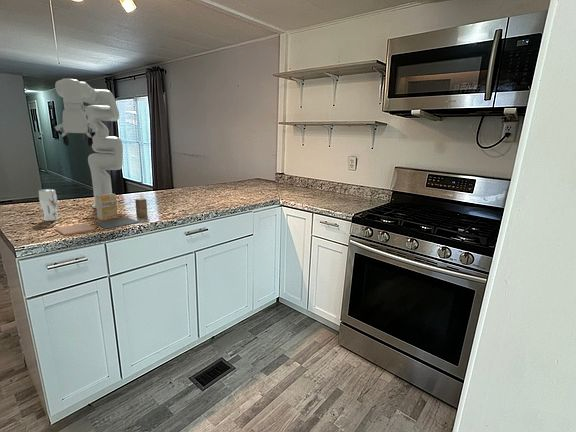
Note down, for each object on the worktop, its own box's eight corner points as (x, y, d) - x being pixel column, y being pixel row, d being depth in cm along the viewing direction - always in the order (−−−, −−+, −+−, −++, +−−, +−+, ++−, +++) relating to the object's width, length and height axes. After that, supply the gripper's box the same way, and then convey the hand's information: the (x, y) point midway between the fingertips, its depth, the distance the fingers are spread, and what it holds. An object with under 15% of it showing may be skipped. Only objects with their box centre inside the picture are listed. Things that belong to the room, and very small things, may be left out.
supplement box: (103, 221, 157) (100, 196, 154) (97, 219, 159) (94, 194, 156) (118, 218, 164) (116, 193, 161) (113, 216, 166) (110, 192, 163)
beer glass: (51, 221, 153) (46, 191, 149) (39, 220, 154) (34, 190, 150) (63, 218, 159) (59, 189, 155) (51, 217, 160) (47, 188, 157)
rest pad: (55, 229, 141) (55, 228, 141) (85, 224, 150) (85, 223, 150) (64, 235, 134) (64, 234, 133) (95, 230, 143) (95, 228, 143)
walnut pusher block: (136, 217, 167) (135, 199, 165) (143, 216, 170) (142, 198, 168) (140, 218, 165) (138, 200, 162) (147, 217, 168) (146, 199, 165)
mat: (94, 223, 153) (94, 222, 153) (127, 217, 165) (127, 217, 165) (105, 228, 145) (105, 228, 145) (139, 222, 157) (139, 221, 157)
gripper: (97, 109, 149) (101, 146, 154) (55, 107, 144) (60, 144, 149) (92, 108, 142) (97, 146, 147) (48, 105, 137) (54, 145, 142)
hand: (78, 145), depth 148 cm, fingers open, 9 cm apart
